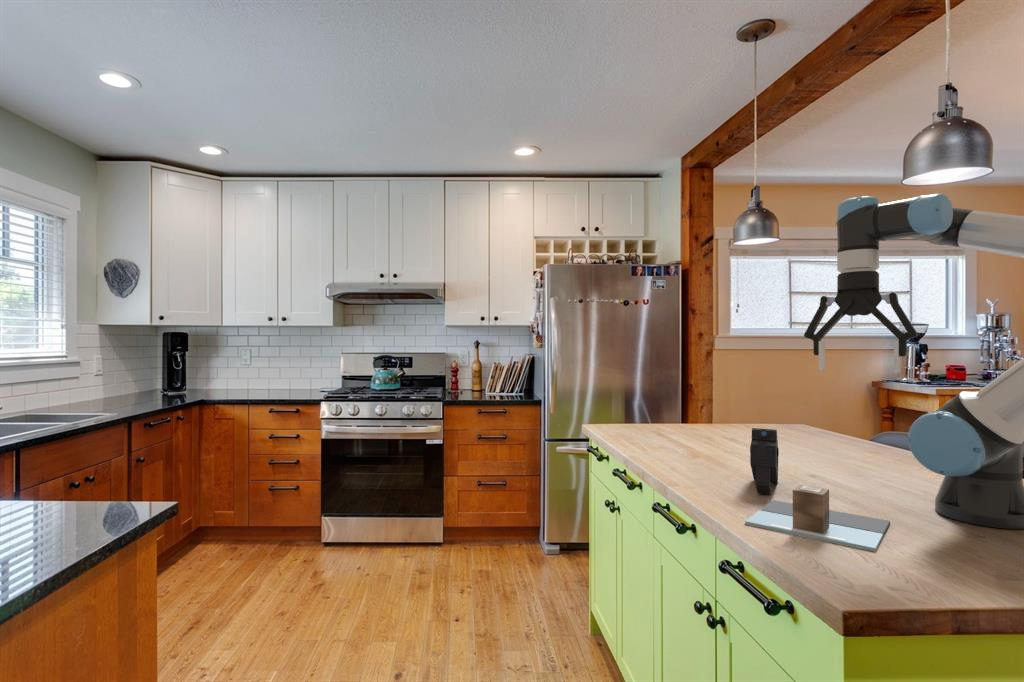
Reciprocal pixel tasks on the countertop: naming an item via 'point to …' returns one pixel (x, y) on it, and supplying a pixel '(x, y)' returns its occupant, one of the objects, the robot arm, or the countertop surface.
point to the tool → (764, 458)
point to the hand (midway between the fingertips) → (858, 371)
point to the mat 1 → (835, 518)
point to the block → (811, 508)
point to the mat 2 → (832, 534)
